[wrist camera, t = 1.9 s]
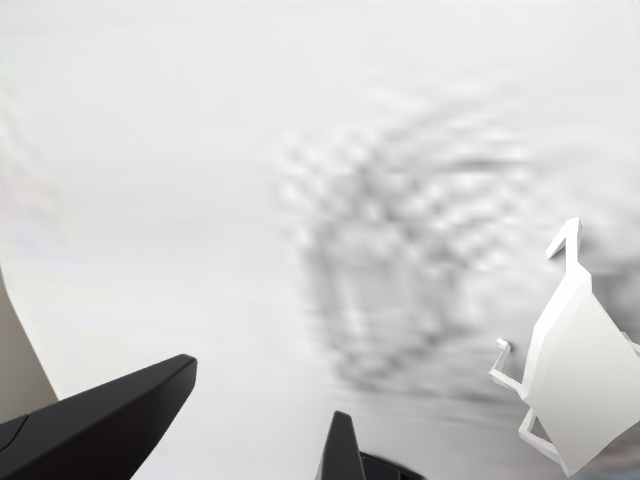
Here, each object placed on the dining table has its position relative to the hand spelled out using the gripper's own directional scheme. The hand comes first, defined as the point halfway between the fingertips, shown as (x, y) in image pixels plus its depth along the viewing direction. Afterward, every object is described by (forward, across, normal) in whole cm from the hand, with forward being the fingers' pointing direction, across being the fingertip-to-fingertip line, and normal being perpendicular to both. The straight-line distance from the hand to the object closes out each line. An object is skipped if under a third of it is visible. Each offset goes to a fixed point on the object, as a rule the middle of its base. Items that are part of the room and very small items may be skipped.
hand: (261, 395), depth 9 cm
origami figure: (+13, -12, +1) cm, 18 cm away
